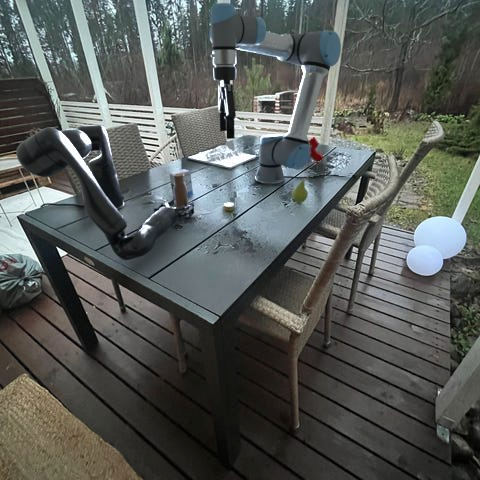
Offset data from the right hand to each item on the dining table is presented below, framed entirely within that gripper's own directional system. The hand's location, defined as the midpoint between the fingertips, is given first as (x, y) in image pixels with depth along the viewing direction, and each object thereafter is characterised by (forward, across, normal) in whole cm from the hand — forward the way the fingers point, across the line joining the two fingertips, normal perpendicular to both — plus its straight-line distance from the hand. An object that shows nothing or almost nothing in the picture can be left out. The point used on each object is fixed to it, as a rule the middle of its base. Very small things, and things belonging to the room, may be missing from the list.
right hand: (226, 134), depth 100 cm
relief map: (+30, -74, +10) cm, 81 cm away
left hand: (+24, +2, -19) cm, 31 cm away
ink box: (+30, -18, -19) cm, 40 cm away
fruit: (+30, +1, +32) cm, 44 cm away
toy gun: (+30, -54, +60) cm, 86 cm away
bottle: (+30, +3, -19) cm, 36 cm away
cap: (+28, 0, 0) cm, 29 cm away
